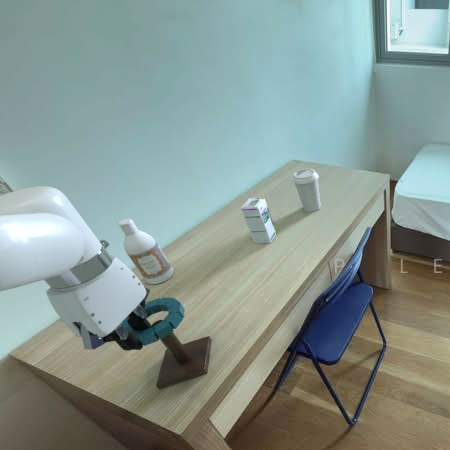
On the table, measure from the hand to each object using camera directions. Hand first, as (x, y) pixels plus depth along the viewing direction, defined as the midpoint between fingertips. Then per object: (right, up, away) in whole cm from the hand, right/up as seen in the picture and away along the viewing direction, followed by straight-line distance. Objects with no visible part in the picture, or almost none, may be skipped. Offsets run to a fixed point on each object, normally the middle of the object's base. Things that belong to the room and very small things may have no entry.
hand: (140, 340), depth 57 cm
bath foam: (-23, +6, +35) cm, 43 cm away
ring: (0, +2, +3) cm, 4 cm away
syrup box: (+2, +17, +49) cm, 52 cm away
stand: (+1, -9, +11) cm, 15 cm away
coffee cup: (+13, +28, +65) cm, 72 cm away
